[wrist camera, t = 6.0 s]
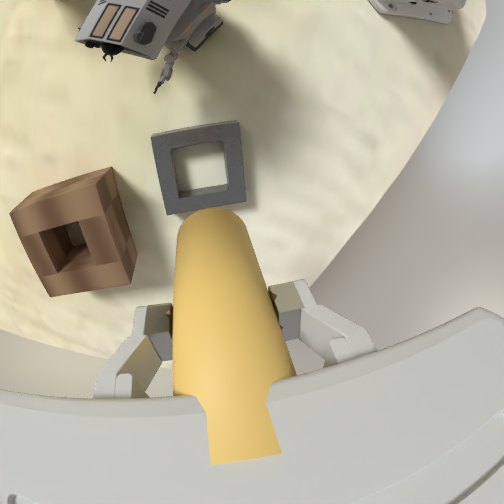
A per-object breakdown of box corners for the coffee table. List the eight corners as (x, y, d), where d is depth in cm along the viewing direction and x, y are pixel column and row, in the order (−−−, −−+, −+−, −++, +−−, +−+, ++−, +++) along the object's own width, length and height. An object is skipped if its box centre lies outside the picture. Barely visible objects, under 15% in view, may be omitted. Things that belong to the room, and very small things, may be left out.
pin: (244, 202, 15) (334, 436, 5) (250, 262, 17) (313, 465, 7) (170, 214, 14) (156, 465, 4) (185, 273, 16) (198, 485, 7)
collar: (235, 120, 27) (238, 122, 26) (243, 195, 33) (246, 201, 31) (153, 134, 26) (150, 137, 25) (168, 208, 31) (167, 215, 30)
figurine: (98, 55, 20) (26, 37, 7) (169, -23, 16) (157, -94, 4) (161, 94, 24) (131, 97, 12) (233, 17, 21) (271, -39, 8)
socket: (111, 166, 27) (95, 184, 22) (137, 254, 34) (130, 284, 29) (32, 192, 26) (9, 213, 21) (63, 269, 32) (50, 297, 27)
